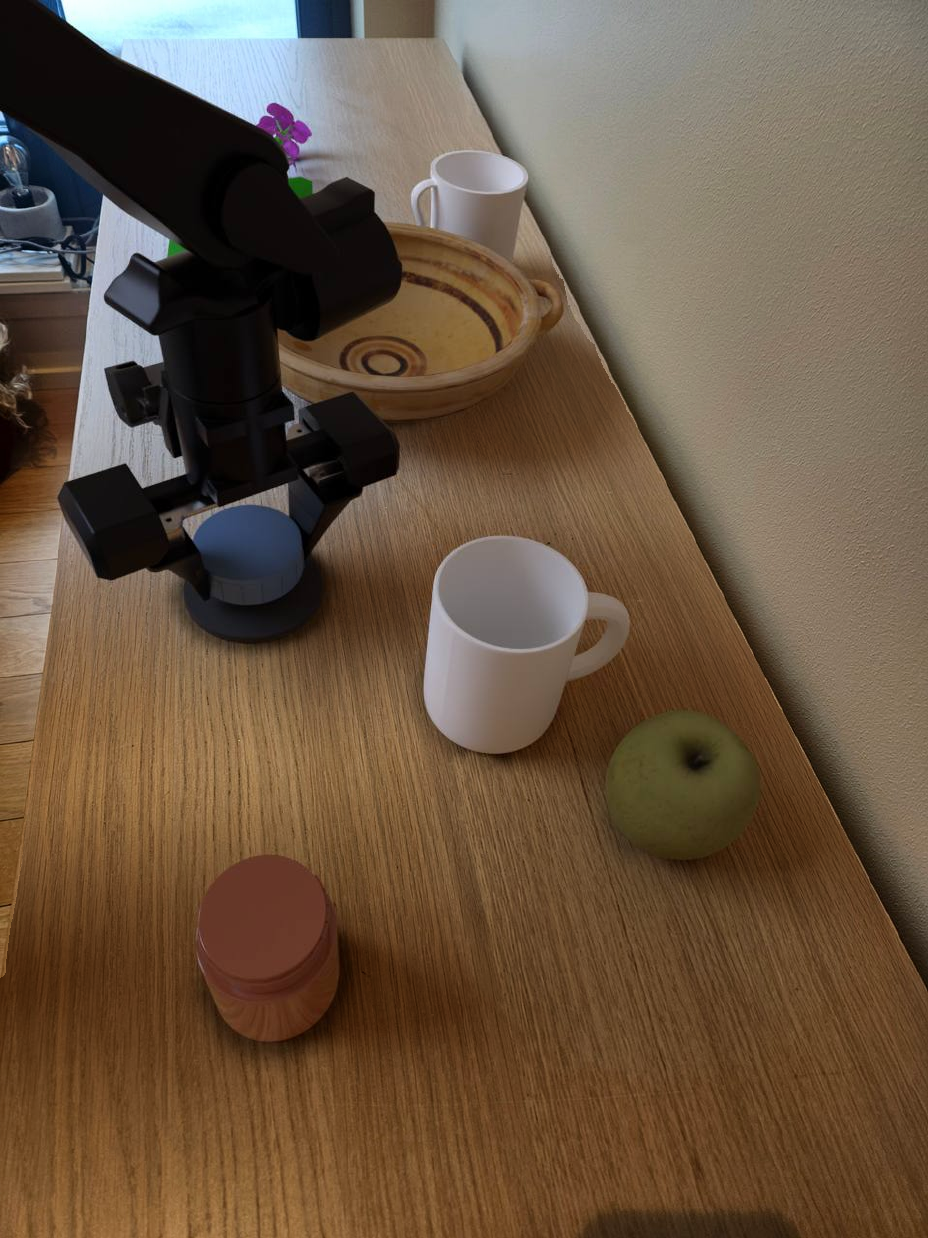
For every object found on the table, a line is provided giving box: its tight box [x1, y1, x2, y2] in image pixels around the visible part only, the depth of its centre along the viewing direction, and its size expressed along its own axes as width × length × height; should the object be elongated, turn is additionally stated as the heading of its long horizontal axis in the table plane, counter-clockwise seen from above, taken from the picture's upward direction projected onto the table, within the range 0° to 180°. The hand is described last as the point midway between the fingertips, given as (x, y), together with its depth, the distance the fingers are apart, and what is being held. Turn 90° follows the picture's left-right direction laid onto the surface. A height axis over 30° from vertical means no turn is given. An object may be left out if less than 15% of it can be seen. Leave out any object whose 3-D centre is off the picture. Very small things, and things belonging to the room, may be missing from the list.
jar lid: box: [192, 504, 305, 605], centre depth 54 cm, size 7×7×2 cm
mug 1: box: [410, 149, 529, 264], centre depth 81 cm, size 11×9×10 cm
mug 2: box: [423, 535, 631, 755], centre depth 50 cm, size 12×8×10 cm
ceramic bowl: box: [277, 221, 565, 424], centre depth 70 cm, size 30×24×8 cm
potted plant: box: [166, 102, 313, 258], centre depth 85 cm, size 12×16×35 cm
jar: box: [194, 854, 340, 1043], centre depth 39 cm, size 6×6×8 cm
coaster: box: [182, 554, 324, 644], centre depth 57 cm, size 9×9×1 cm
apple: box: [604, 709, 762, 861], centre depth 46 cm, size 8×8×7 cm
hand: (252, 576), depth 56 cm, fingers closed on jar lid, 6 cm apart
